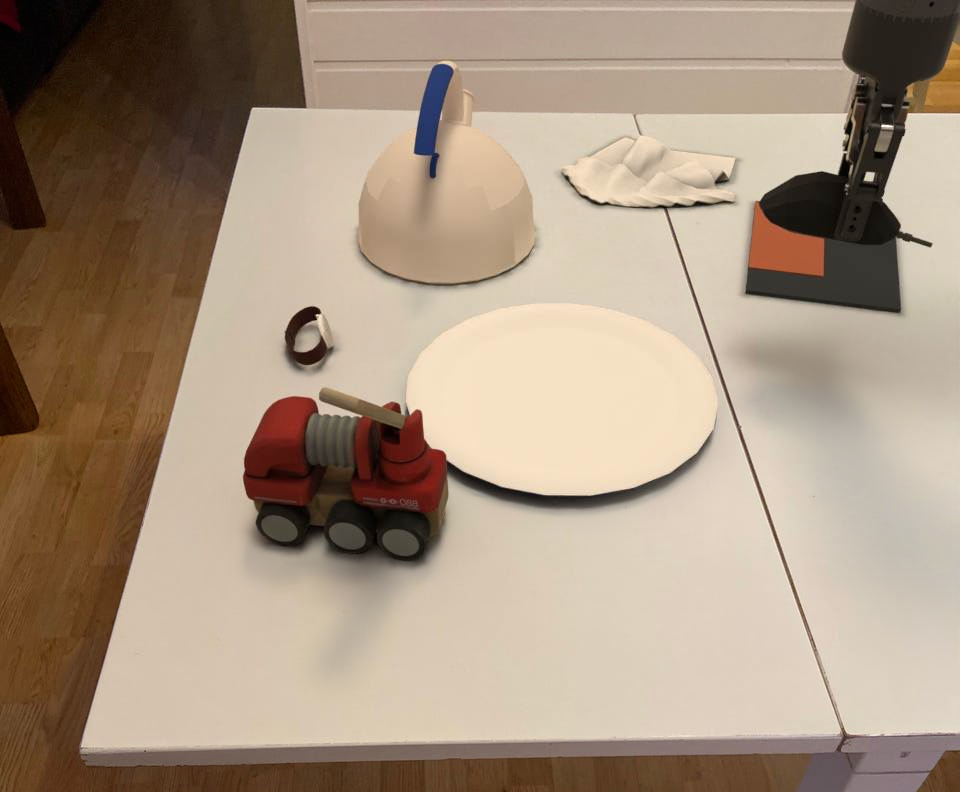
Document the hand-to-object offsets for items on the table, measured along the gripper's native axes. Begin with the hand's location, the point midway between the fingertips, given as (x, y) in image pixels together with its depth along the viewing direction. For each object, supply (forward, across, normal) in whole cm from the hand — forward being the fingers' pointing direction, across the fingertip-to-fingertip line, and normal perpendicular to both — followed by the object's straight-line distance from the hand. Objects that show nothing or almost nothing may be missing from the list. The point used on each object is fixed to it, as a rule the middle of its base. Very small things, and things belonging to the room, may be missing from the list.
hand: (845, 217), depth 82 cm
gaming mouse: (+1, 0, 0) cm, 1 cm away
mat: (+15, +22, -2) cm, 27 cm away
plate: (+15, -10, +22) cm, 29 cm away
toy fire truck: (+15, -31, +37) cm, 50 cm away
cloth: (+15, +37, +17) cm, 44 cm away
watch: (+15, -7, +48) cm, 51 cm away
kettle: (+15, +17, +40) cm, 46 cm away
